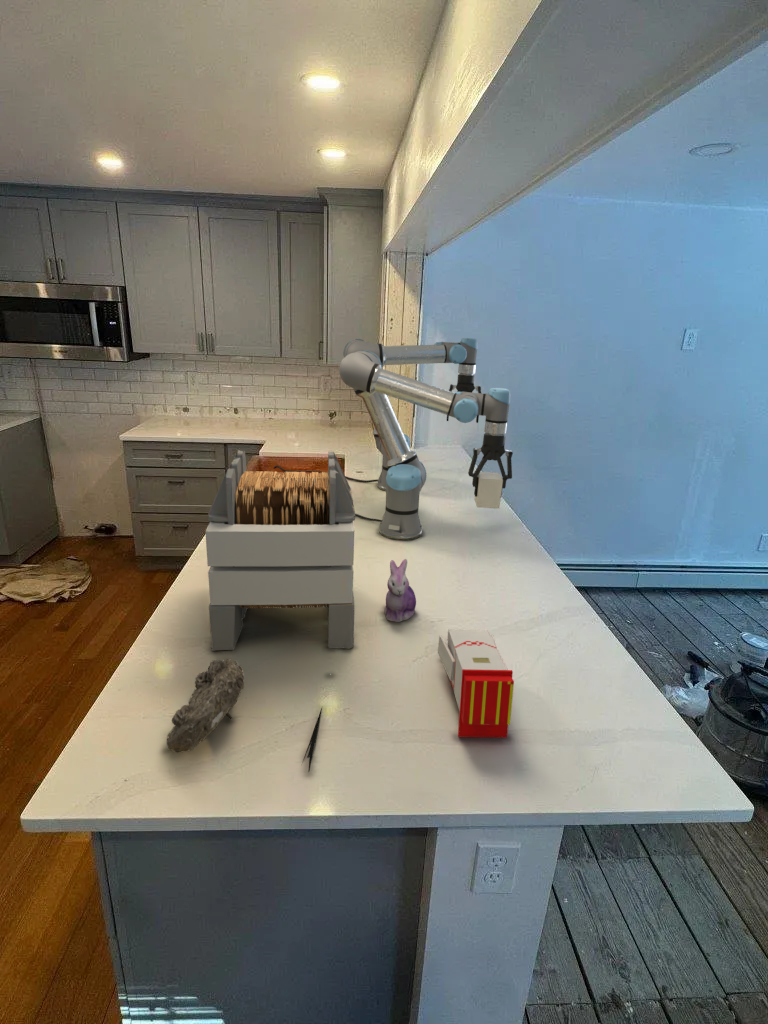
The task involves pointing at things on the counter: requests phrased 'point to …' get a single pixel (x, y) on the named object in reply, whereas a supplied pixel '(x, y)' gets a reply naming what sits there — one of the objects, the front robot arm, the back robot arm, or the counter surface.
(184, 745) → the fossil
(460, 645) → the toy
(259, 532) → the record crate
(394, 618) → the figurine
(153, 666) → the counter surface
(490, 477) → the brick
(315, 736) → the feather
